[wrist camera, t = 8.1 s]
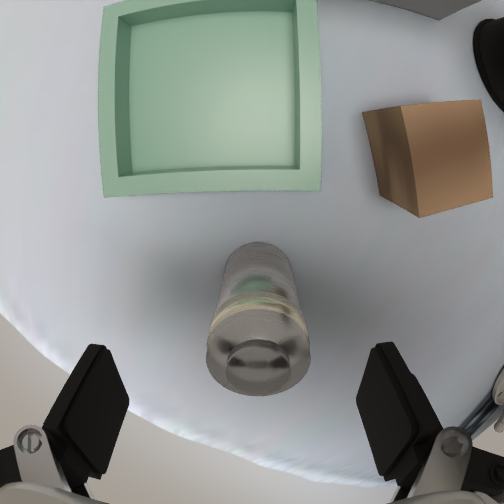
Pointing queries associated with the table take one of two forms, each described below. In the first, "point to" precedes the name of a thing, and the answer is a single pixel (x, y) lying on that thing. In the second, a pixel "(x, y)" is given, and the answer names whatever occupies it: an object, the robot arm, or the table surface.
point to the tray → (209, 96)
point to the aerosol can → (491, 56)
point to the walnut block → (431, 155)
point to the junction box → (431, 6)
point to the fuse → (258, 325)
